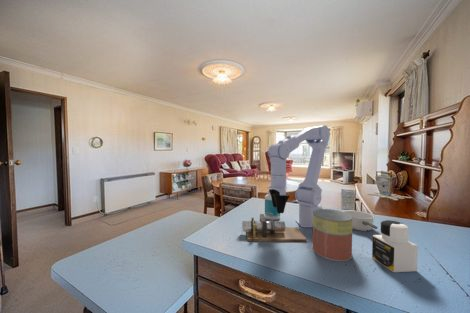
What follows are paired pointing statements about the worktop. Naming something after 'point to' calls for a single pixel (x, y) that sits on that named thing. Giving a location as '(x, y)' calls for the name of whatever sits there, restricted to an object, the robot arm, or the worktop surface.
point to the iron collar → (263, 225)
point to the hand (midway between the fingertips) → (278, 209)
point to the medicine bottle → (395, 247)
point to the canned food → (332, 234)
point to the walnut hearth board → (279, 236)
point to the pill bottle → (270, 208)
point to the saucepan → (361, 220)
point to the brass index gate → (253, 229)
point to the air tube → (271, 226)
